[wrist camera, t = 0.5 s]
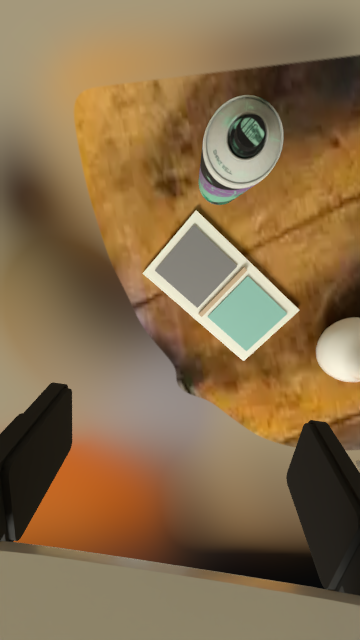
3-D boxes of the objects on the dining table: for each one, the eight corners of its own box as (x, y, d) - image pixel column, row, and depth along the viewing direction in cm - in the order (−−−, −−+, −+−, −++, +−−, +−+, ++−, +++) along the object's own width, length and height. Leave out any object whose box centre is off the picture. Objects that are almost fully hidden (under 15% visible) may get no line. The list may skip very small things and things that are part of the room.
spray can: (203, 153, 34) (215, 63, 15) (246, 162, 34) (311, 83, 15) (194, 200, 36) (196, 172, 17) (235, 208, 36) (282, 189, 17)
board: (196, 210, 36) (196, 209, 35) (297, 308, 40) (301, 311, 39) (143, 272, 39) (141, 274, 38) (242, 358, 43) (244, 363, 42)
